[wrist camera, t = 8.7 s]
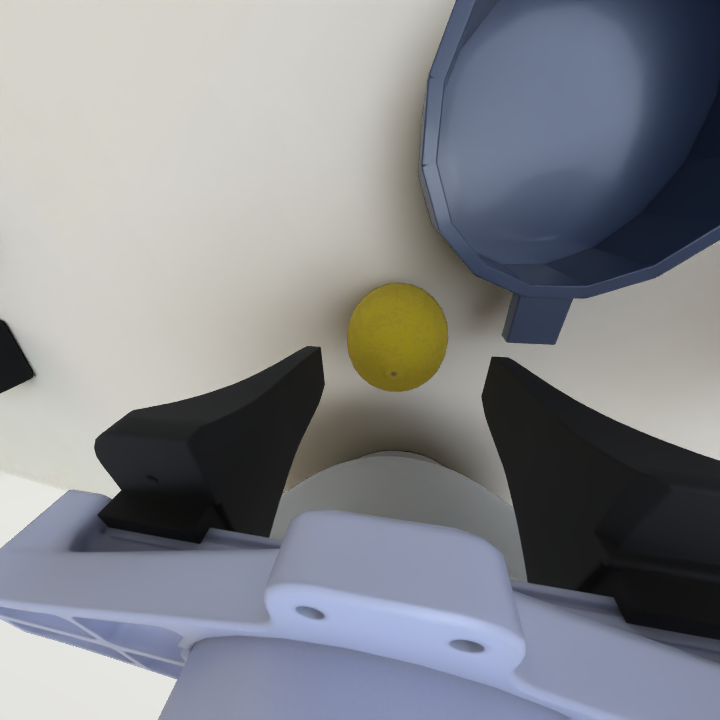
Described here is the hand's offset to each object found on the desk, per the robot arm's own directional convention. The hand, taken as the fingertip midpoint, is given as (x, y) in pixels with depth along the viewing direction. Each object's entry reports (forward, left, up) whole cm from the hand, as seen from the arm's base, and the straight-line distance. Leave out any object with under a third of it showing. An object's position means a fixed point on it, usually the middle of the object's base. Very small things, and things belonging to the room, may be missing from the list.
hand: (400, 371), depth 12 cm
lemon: (0, 0, -8) cm, 8 cm away
